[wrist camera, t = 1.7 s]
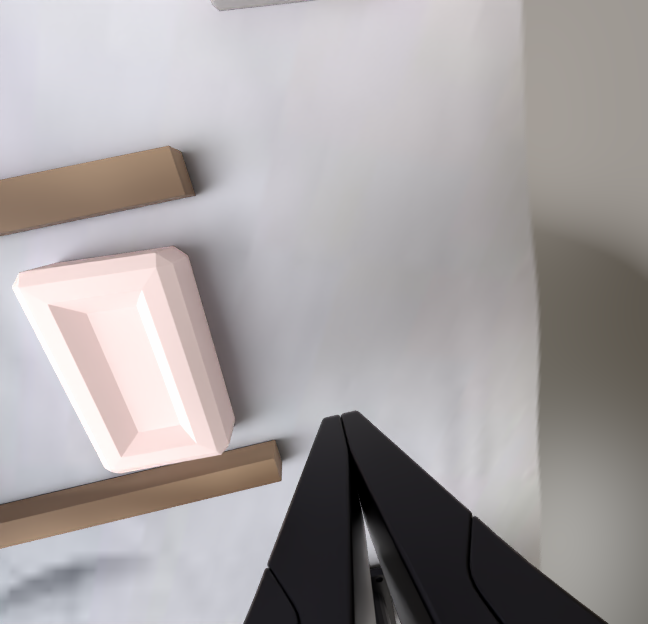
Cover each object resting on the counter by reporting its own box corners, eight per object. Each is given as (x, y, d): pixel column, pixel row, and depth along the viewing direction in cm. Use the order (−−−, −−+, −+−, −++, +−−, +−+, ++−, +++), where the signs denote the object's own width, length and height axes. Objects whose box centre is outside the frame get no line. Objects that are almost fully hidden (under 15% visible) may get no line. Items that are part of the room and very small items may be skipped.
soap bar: (131, 440, 15) (103, 482, 13) (51, 262, 12) (-5, 277, 10) (238, 421, 16) (229, 459, 13) (187, 243, 12) (164, 252, 10)
